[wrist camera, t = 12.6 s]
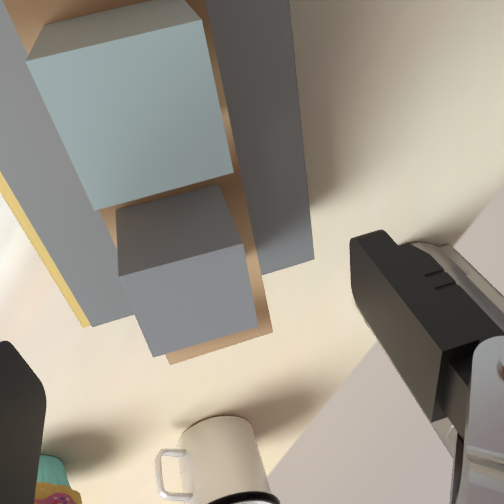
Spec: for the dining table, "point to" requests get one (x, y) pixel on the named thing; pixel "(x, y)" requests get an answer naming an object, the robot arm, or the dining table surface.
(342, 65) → the dining table surface
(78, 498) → the cupcake
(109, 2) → the brown wooden box
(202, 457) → the mug
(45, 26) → the crate
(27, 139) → the dock
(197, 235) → the grey cube
